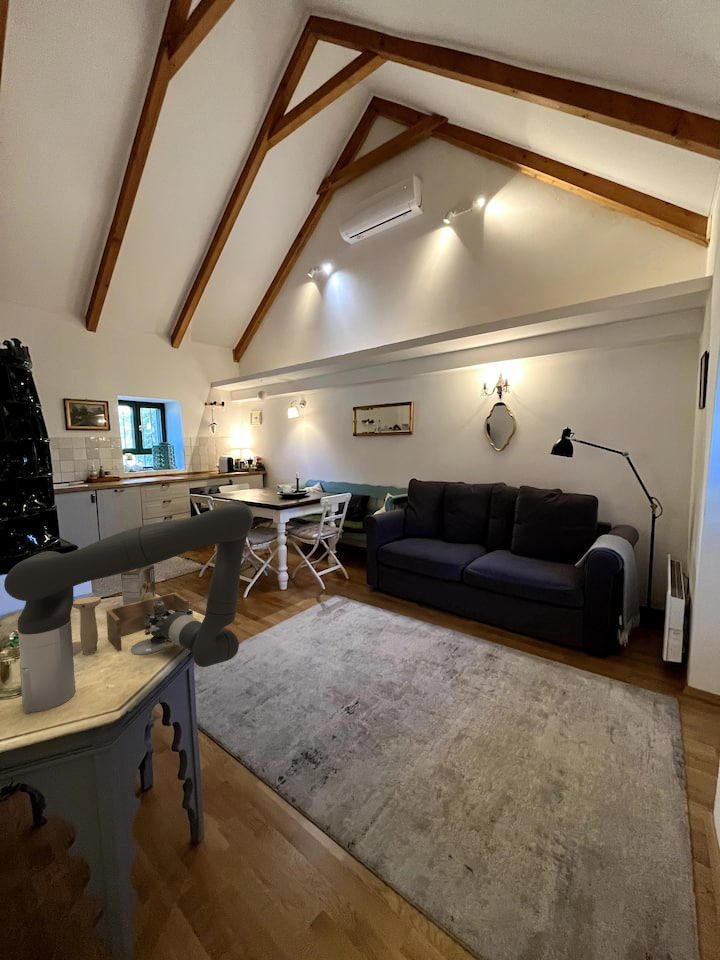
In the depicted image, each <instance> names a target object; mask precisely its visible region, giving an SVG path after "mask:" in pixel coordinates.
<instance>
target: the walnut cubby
mask: <svg viewBox="0 0 720 960" xmlns="http://www.w3.org/2000/svg"><path fill="white" fill-rule="evenodd" d="M158 598H159V599H160V601H163V602H164V608H165V609H168V610H173V611H175V610H176V609H185V610H190V603H189V600H188V599H187V598H185V597H184V596H182V595H181V594H179V593H178V592H176V591H175V592H172V593H168V594H163V595H160V596H156V597H155V598H151V599H147V600H143V601H139V602H135V603H132V604H128V605H124V606H123V605H121V606H117V607H112V608H109V609H106V610H105V611H106V629H107V631H106V632H107V640H108V641H109V643H110V644H111V645H112V646H113V647H114V649H115V650H116V651H117V652H121V651H123V650H122V637H125V636H128V635H130V634H134V632H135V633H137V632H140V631H145V630H144V629H145V623H144V619H146V617H145V615H146V614H147V613H151V614H154V607H153V605H154V603H155V602H157V601H158Z"/></svg>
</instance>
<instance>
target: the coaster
mask: <svg viewBox="0 0 720 960" xmlns="http://www.w3.org/2000/svg"><path fill="white" fill-rule="evenodd" d="M150 640H151V638H148V639H143V640H141V641H138V642H136V643H135V644H133V645H132V646H131V648H130V653H131V654H133V655H136V656H144V655H151V654H154V653H157V652H159V651H160V650H163V649H164V648H165V647H166V645H167V640H166V641H163V642H157V643H154V642H151V641H150Z"/></svg>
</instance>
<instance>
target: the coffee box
mask: <svg viewBox="0 0 720 960" xmlns="http://www.w3.org/2000/svg"><path fill="white" fill-rule="evenodd" d="M120 577H121V590H122V591H121V592H122V593H121V594H122V606H124V605H128V604H132V603H135V602H139V601H143V600H147V599H151V598H155V597H157V596H156V583H155V582H156V580H155V564H153V565H149V566H146V567H143V568H139V569H136V570H132V571H128V572H124V573H120Z"/></svg>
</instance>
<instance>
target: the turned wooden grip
mask: <svg viewBox="0 0 720 960" xmlns="http://www.w3.org/2000/svg"><path fill="white" fill-rule="evenodd" d="M101 603H102V598H101V596H90V597H89V596H87V597H82V598H78V599H77V598H76V599H75V600H74V601H73V607H72V609H73V608H74V609H76V610H79V613H80V614H79V615H80V616H79V617H80V619H79V620H80V621H79V622H80V623H79V625H80V627H79V636H80V637H79V638H80V643H81V644H80V645H81V648H82V650H81V651H82V654H83V655H86V656H89V655H92V654H95V653H96V652H97V651H98V641H99V635H98V634H99V633H98V625H97V618H96V607H98V606H99V605H100V604H101Z"/></svg>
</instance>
